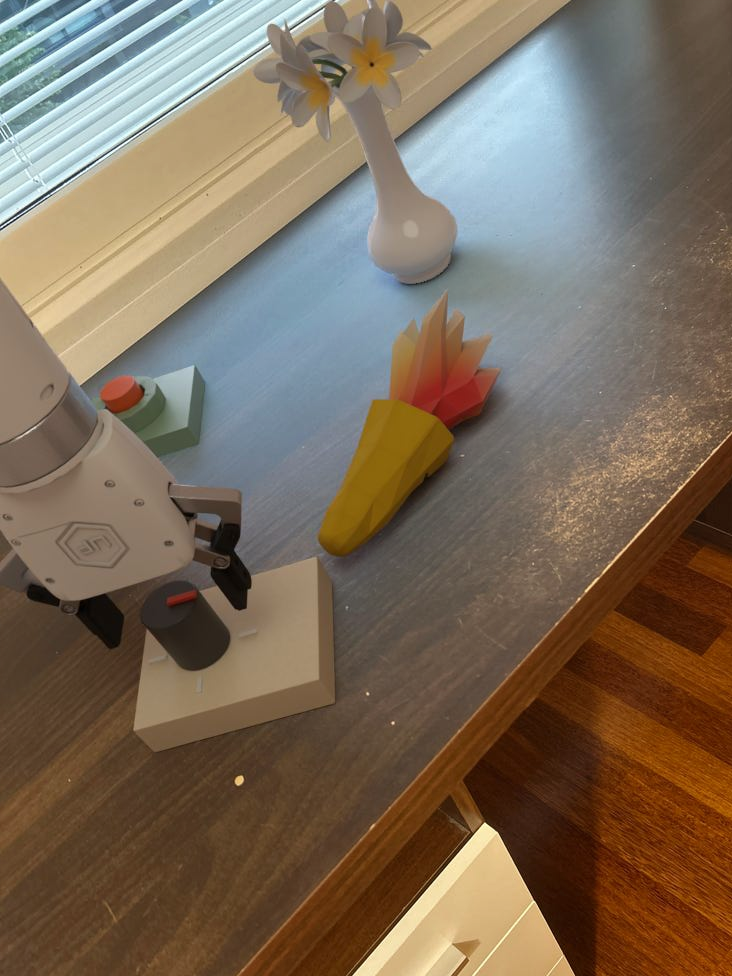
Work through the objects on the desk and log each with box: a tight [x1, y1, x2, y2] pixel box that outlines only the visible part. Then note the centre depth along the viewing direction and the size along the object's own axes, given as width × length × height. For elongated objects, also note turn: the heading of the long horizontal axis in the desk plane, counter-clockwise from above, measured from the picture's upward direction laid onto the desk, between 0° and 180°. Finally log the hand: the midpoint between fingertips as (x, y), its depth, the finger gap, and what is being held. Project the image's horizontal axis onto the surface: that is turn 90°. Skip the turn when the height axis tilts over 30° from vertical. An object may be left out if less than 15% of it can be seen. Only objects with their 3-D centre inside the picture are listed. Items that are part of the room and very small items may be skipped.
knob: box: [139, 579, 230, 671], centre depth 73 cm, size 4×4×5 cm
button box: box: [89, 364, 206, 458], centre depth 99 cm, size 12×10×4 cm
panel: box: [132, 556, 336, 753], centre depth 75 cm, size 14×12×3 cm
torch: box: [317, 288, 503, 558], centre depth 82 cm, size 8×8×25 cm
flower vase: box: [252, 0, 459, 285], centre depth 95 cm, size 13×18×25 cm
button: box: [99, 374, 144, 414], centre depth 97 cm, size 4×4×2 cm
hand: (180, 614), depth 72 cm, fingers open, 9 cm apart
